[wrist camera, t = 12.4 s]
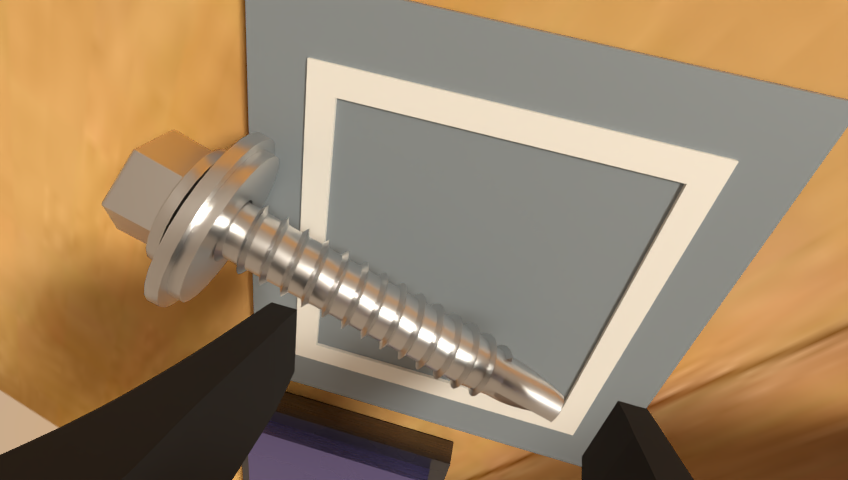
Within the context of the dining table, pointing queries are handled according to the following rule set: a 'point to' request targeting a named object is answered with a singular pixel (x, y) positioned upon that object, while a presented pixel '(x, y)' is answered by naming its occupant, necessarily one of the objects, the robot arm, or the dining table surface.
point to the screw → (293, 262)
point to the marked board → (519, 197)
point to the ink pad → (341, 447)
